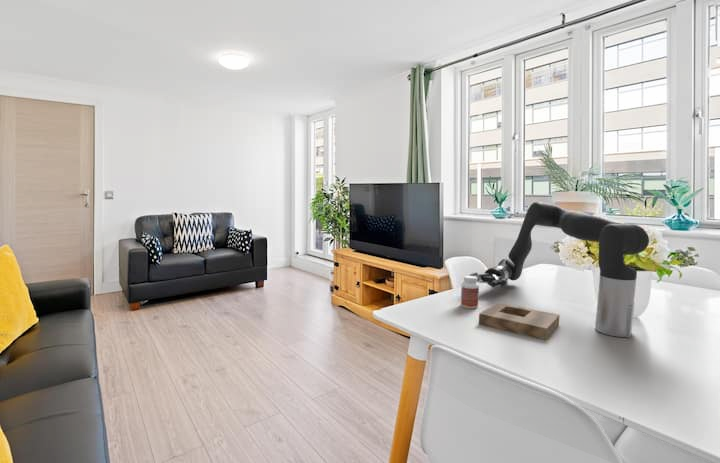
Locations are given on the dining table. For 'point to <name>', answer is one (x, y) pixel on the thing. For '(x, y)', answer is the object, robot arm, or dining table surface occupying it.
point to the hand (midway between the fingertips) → (481, 282)
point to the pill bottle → (469, 292)
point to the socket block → (520, 320)
